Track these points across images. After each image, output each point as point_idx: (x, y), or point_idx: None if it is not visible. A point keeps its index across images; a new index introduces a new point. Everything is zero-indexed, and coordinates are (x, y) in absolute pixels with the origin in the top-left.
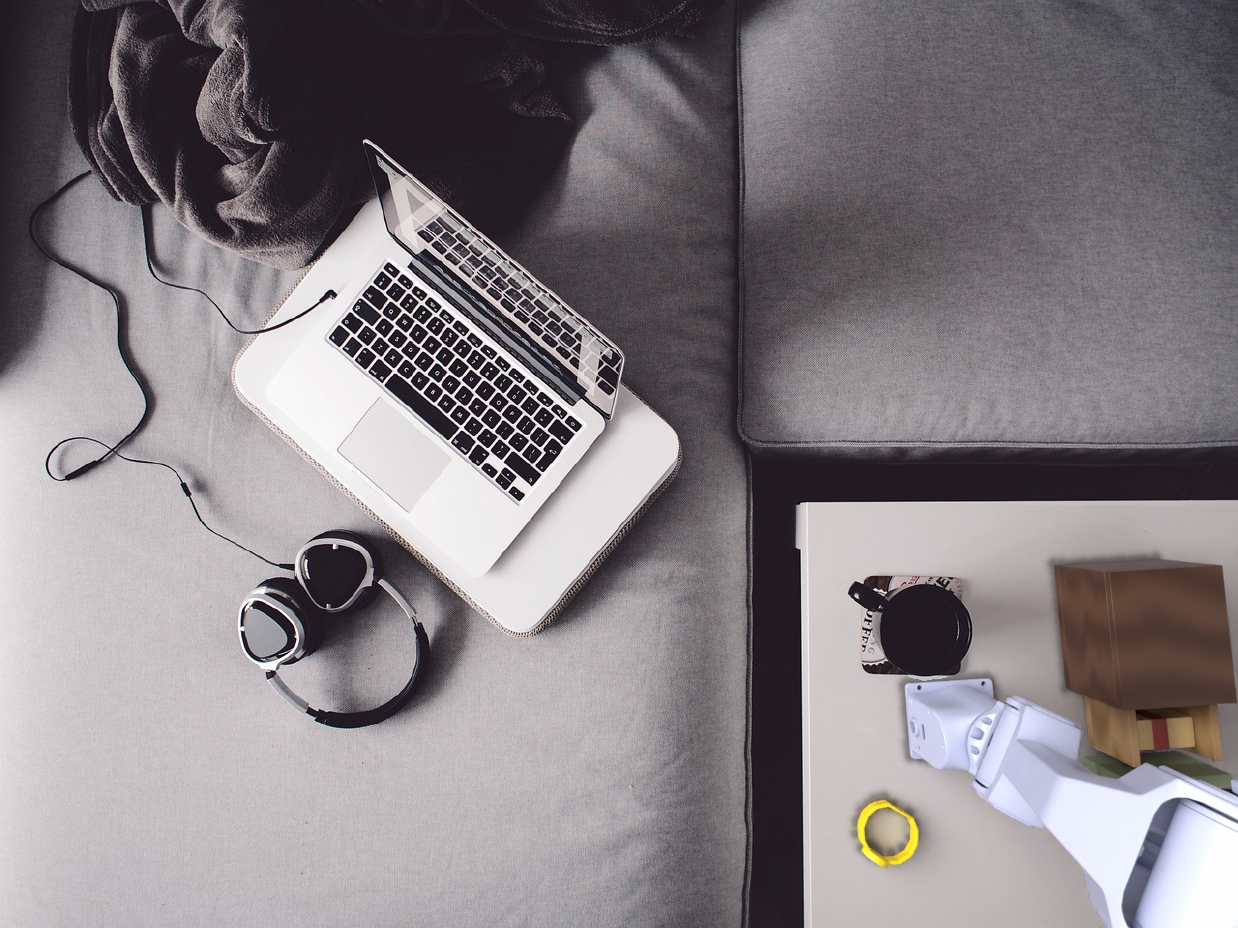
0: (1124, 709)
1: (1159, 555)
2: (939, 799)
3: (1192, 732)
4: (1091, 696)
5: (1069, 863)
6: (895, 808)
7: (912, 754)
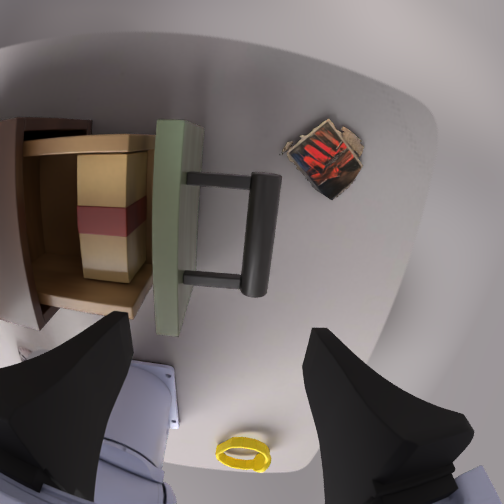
0: (37, 329)
1: None
2: (223, 413)
3: (101, 158)
4: None
5: (329, 306)
6: (220, 452)
7: (174, 428)
